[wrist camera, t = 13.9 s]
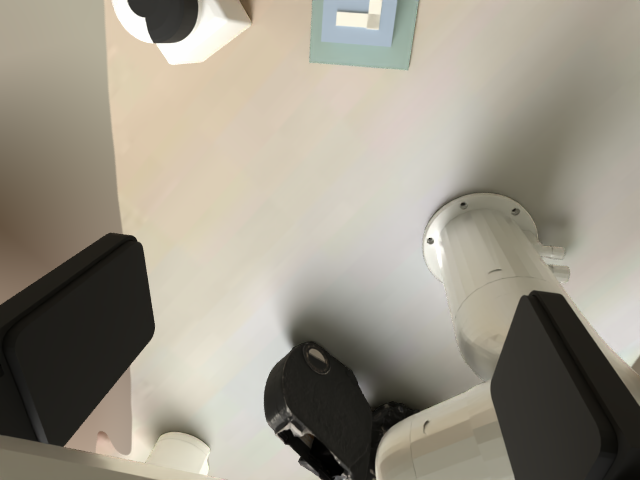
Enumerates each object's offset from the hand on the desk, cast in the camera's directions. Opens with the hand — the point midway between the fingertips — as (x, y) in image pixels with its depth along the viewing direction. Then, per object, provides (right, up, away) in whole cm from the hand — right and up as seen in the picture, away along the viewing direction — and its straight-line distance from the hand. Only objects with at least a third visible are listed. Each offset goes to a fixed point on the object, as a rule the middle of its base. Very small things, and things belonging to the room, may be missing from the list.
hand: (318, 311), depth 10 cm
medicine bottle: (-11, +25, +31) cm, 41 cm away
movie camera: (+8, -22, +51) cm, 56 cm away
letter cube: (+4, +24, +28) cm, 37 cm away
